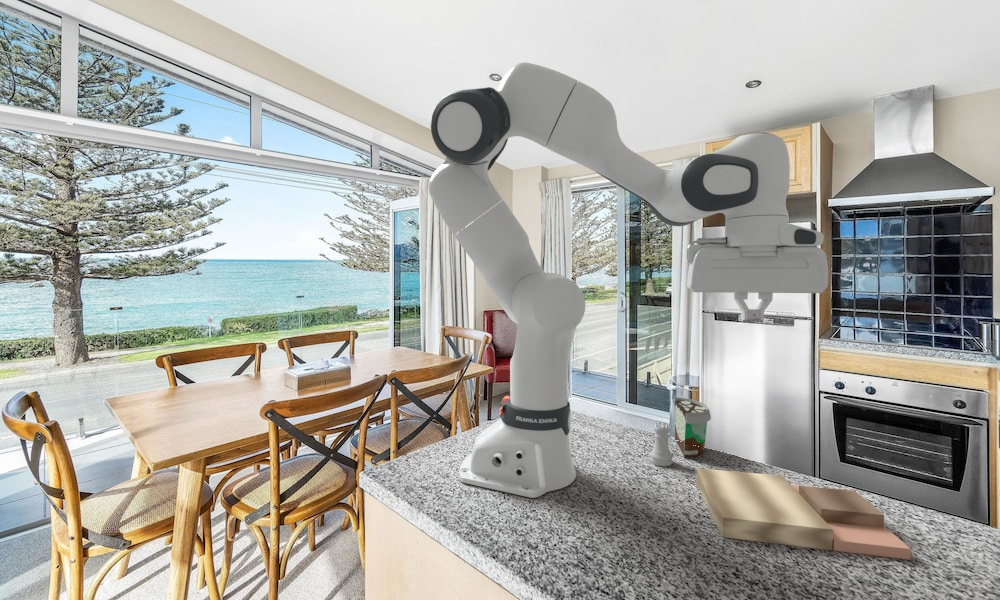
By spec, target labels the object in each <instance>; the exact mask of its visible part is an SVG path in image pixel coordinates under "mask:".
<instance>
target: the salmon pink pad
mask: <svg viewBox="0 0 1000 600" xmlns="http://www.w3.org/2000/svg"><path fill="white" fill-rule="evenodd" d="M791 485H792V486H793V488H794V489H795V490H796V491H797V492H798V493H799V486H800V485H799V484H791ZM830 489H832V488H830ZM826 523H827V524H828V525H829V526H830V527H831V528H832V529H833V540H832V551H835V552H842V553H852V554H860V555H868V556H877V557H886V558H892V559H901V560H909V561H910V560H911V556H912V555H911V553H912V549H911V547H909V546H908V545H907V544H906V543H905V542H904V541H902V540H901V539H900V538H899V537H898V536H897V535H895V534H894V533H893V532H892V531H891V530H890V529H888V528H887V527H886V526H885V525H884V527H883V528H876V527H867V526H858V525H849V524H839V523H830V522H826Z"/></svg>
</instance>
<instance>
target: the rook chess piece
mask: <svg viewBox="0 0 1000 600" xmlns="http://www.w3.org/2000/svg"><path fill="white" fill-rule="evenodd" d="M652 428H653V431H655V434H654V438H655V439H654V446H653V448H652V450H651V451H650V457H649V461H650V462H651V463H652V464H653V465H655V466H658V467H663V468H665V467H670V466H671V465H673V463H674V462H673V460H672V459H673V454H672V453H671V450H670V449H669V438H670V436H669V435H668V434H669V433H670V432H671V429H670V428H669V424H668V423H666V422H662V423H661V422H660V421H659V422H658V421H657V422H655V424H654V427H652Z"/></svg>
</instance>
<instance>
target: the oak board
mask: <svg viewBox="0 0 1000 600" xmlns="http://www.w3.org/2000/svg"><path fill="white" fill-rule="evenodd" d="M792 485H793V484H791V483H790V482H789V481H788V480H787V479H786V478H785V477H784V476H783V475H779V474H778V475H777V474H768V473H767V474H765V473H755V472H743V471H735V470H734V471H733V470H722V469H721V470H720V469H712V468H711V469H709V468H700V467H696V486H697V487H698V489H699V492H700V494H701V496H702V498H703V499H704V502H705V504H706V506H707V508H708V510H709V512H710V514H711V516H712V518H713V520H714V522H715V524H716V526H717V528H718V531H719V533H720V535H721V536H722V538H726V539H727V538H728V539H734V540H735V539H736V540H737V539H738V540H744V541H750V542H751V541H753V542H761V543H770V544H776V545H777V544H778V545H783V546H784V545H785V546H794V547H801V548H810V549H819V550H827V551H833V549H832V540H833V529H832V528H831V527H830V526H829V525H828V524H827V523H826V522H825V521H824V520H823V518H822V517H821V516H820V515H819V514H818V513H817V512H816V511H815V510H814V509H813V508H812V507H811V506H810V505H809V504H808V502H807V501H806V500H805V499H804V498H803V497H802V496H801V495H800V494H799V493H798V492H797V491H796V490H795V489H794V488H793V486H792Z"/></svg>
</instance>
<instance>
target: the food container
mask: <svg viewBox="0 0 1000 600" xmlns="http://www.w3.org/2000/svg"><path fill="white" fill-rule="evenodd" d="M673 406H674V442H675V444H676V446H677V448H678V450H679V452H680V453H681V455H682V457H683V459H696V458H697V459H698V458H700V457H702V456H703V455H704V452H705V447H706V446H705V445H706V436H707V427H708V422H709V421H711V419H712V416H711V411H710V409H709V407H708V405H707V404H705V403H703V402H701V401H699V400H695V399H690V398H686V397H674V400H673ZM675 440H679V441H675ZM680 441H682V442H680ZM693 445H694V446H693ZM695 445H696V446H695ZM698 446H699V447H698ZM703 448H704V449H703Z"/></svg>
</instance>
